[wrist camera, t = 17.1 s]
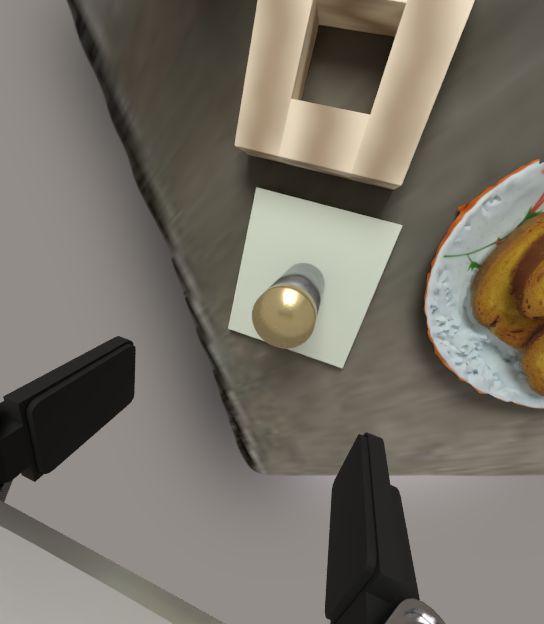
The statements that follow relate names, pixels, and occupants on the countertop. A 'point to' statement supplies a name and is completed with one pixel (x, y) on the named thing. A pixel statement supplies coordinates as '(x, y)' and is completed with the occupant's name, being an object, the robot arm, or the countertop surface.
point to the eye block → (338, 122)
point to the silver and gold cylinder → (289, 307)
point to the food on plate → (493, 290)
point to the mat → (322, 254)
